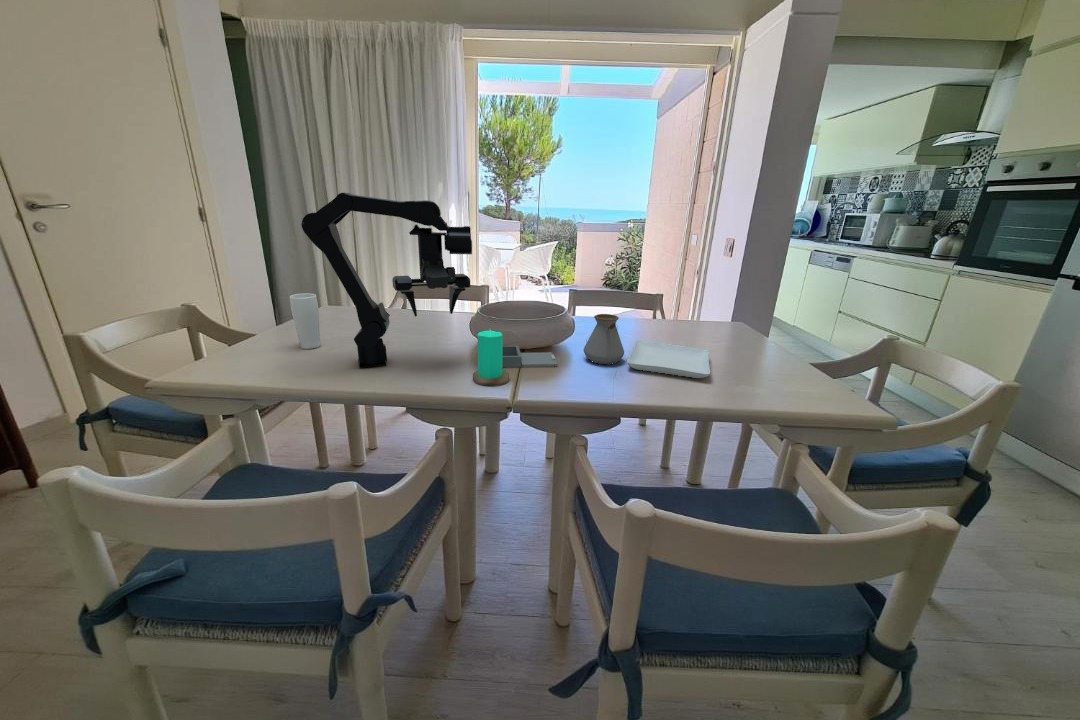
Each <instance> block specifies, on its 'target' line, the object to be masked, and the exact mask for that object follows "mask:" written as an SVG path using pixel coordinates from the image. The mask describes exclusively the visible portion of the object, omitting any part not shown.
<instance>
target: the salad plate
mask: <svg viewBox="0 0 1080 720" xmlns="http://www.w3.org/2000/svg"><path fill="white" fill-rule="evenodd" d="M633 345H634V346H633V347H632V350H631V352H630V354H629V356H628V357H627V360H626V364H627V365H628V366H629V367H630V368H632V369H634V370H638V371H642V370H643V372H647V371H651V372H650V373H654V372H658V373H657V374H660V373H665V374H664V375H667V374H672V375H671V376H674V375H678V376H677V377H681V376H686V377H685V378H688V377H692V379H703V378H707V377H709V376H710V374H711V366H710V353H709V350H707V349H704V348H698V347H691V346H687V345H686V346H685V345H684V346H683V345H677V344H669V343H664V342H658V341H657V342H655V341H647V340H639V339H637V340H635V342H634V344H633Z"/></svg>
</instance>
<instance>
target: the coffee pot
mask: <svg viewBox="0 0 1080 720" xmlns="http://www.w3.org/2000/svg"><path fill="white" fill-rule="evenodd" d="M593 318H594V319H595V321H596V325H595V326H594V329H593V330H592V332H591V334H590V335H589V337H588V338H587V339H588V340H587V341H586V343H585V345H584V347H583V354H584V355H585V357H586V358H587V359H590V360H591V361H593V362H595V363H594V364H596V363H599V364H598V365H600V364H612V363H615V362H616V363H617V362H619V361H621V359H622V358H623V357H624V355H625V350H624V346H623V344H622V340H621V336H620V334H619V331H618V330H619V326H618V325H617V322H618V320H619V319H620V318H619V316H617V315H615V314H609V313H599V314H595V315H594V316H593ZM590 360H589V361H590ZM591 361H590V362H591ZM593 362H592V363H593ZM616 363H615V364H616ZM612 365H613V364H612Z"/></svg>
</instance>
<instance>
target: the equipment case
mask: <svg viewBox="0 0 1080 720" xmlns="http://www.w3.org/2000/svg"><path fill="white" fill-rule="evenodd" d="M554 366H555V367H556V366H557V367H558V366H559V365H558V362H557V360H556V357H555V355H554V354H553V352H551V351H549V352H521V350H520V347H519V345H503V366H502V369H503V368H554ZM557 367H556V368H557Z"/></svg>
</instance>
